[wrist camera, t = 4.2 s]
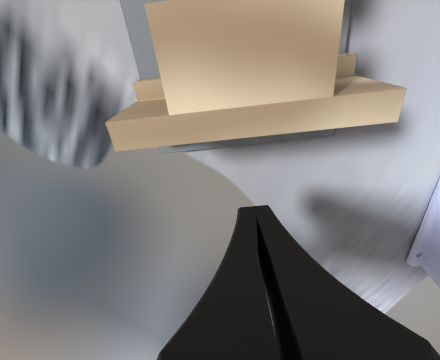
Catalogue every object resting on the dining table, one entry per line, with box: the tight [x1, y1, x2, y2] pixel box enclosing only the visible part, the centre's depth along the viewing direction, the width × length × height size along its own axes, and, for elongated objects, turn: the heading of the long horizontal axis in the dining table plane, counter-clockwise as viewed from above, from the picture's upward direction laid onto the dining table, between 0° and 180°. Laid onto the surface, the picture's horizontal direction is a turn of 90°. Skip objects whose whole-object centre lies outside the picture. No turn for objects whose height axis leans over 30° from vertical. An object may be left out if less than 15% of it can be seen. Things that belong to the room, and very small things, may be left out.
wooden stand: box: [105, 0, 407, 151], centre depth 11 cm, size 6×11×5 cm, turn 97°
